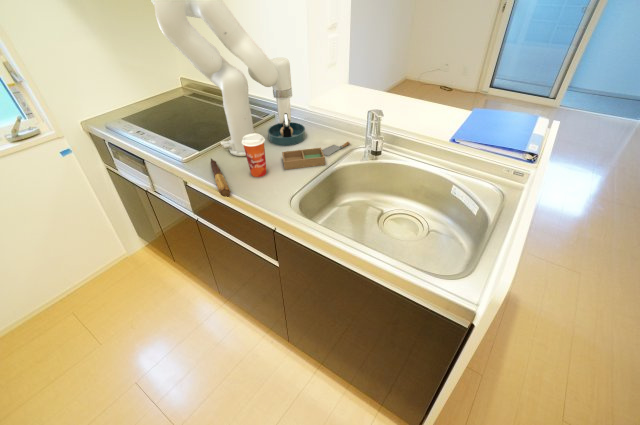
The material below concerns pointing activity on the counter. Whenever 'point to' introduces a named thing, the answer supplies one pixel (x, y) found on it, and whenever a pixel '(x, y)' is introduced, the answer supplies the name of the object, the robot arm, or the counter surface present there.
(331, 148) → the cleaver
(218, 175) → the hand tool
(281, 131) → the egg
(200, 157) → the counter surface
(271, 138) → the bowl
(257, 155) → the paper cup
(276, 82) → the robot arm
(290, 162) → the divided brown tray
